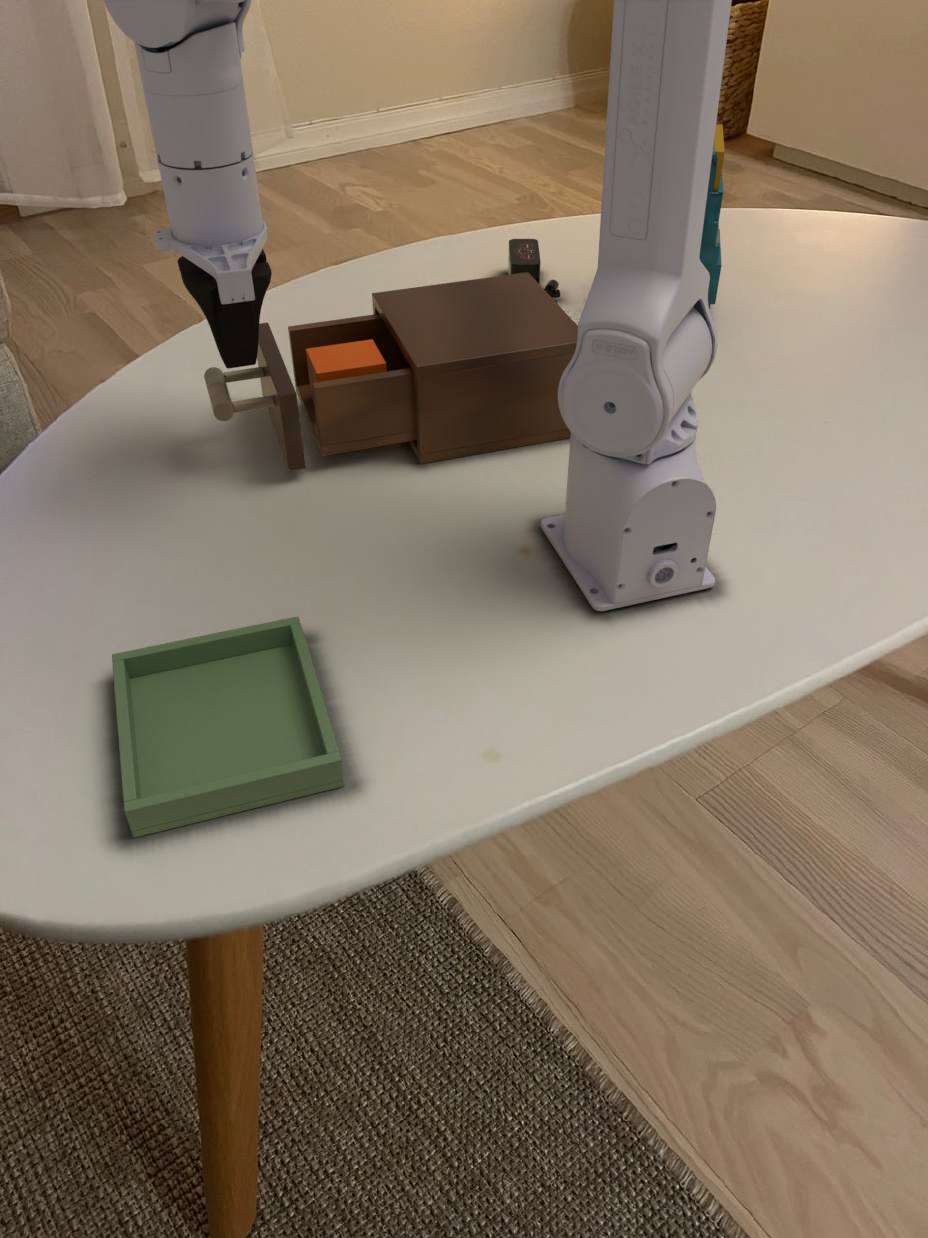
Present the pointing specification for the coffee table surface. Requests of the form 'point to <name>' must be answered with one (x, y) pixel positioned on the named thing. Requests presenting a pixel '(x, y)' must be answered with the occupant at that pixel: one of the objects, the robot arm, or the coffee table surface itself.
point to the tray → (221, 726)
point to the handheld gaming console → (713, 217)
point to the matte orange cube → (343, 361)
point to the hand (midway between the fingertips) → (240, 362)
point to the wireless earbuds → (528, 262)
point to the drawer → (326, 391)
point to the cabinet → (481, 362)
